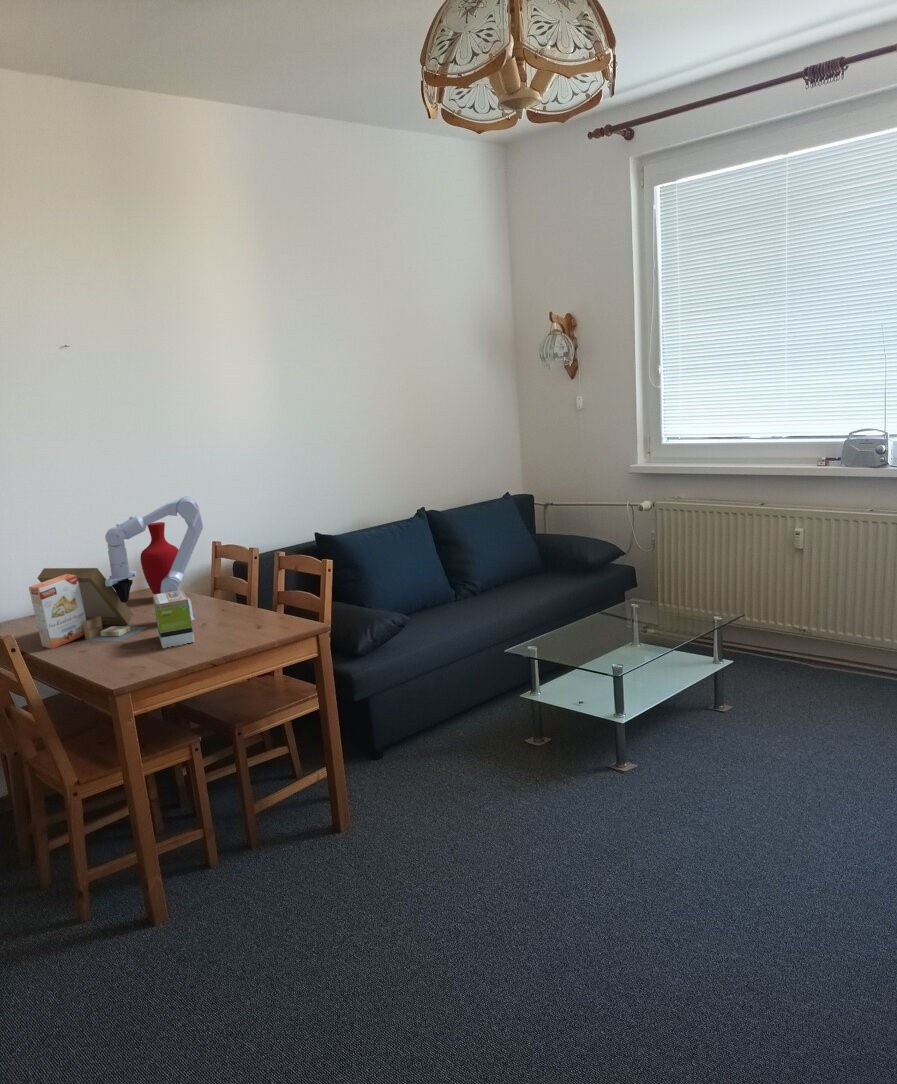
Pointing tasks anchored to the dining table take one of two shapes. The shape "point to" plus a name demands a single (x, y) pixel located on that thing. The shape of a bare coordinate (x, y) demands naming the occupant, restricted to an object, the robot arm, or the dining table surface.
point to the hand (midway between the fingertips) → (124, 601)
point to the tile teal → (115, 631)
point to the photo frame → (94, 594)
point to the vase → (157, 557)
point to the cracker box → (58, 610)
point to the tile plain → (92, 627)
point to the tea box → (173, 618)
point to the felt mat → (118, 638)
